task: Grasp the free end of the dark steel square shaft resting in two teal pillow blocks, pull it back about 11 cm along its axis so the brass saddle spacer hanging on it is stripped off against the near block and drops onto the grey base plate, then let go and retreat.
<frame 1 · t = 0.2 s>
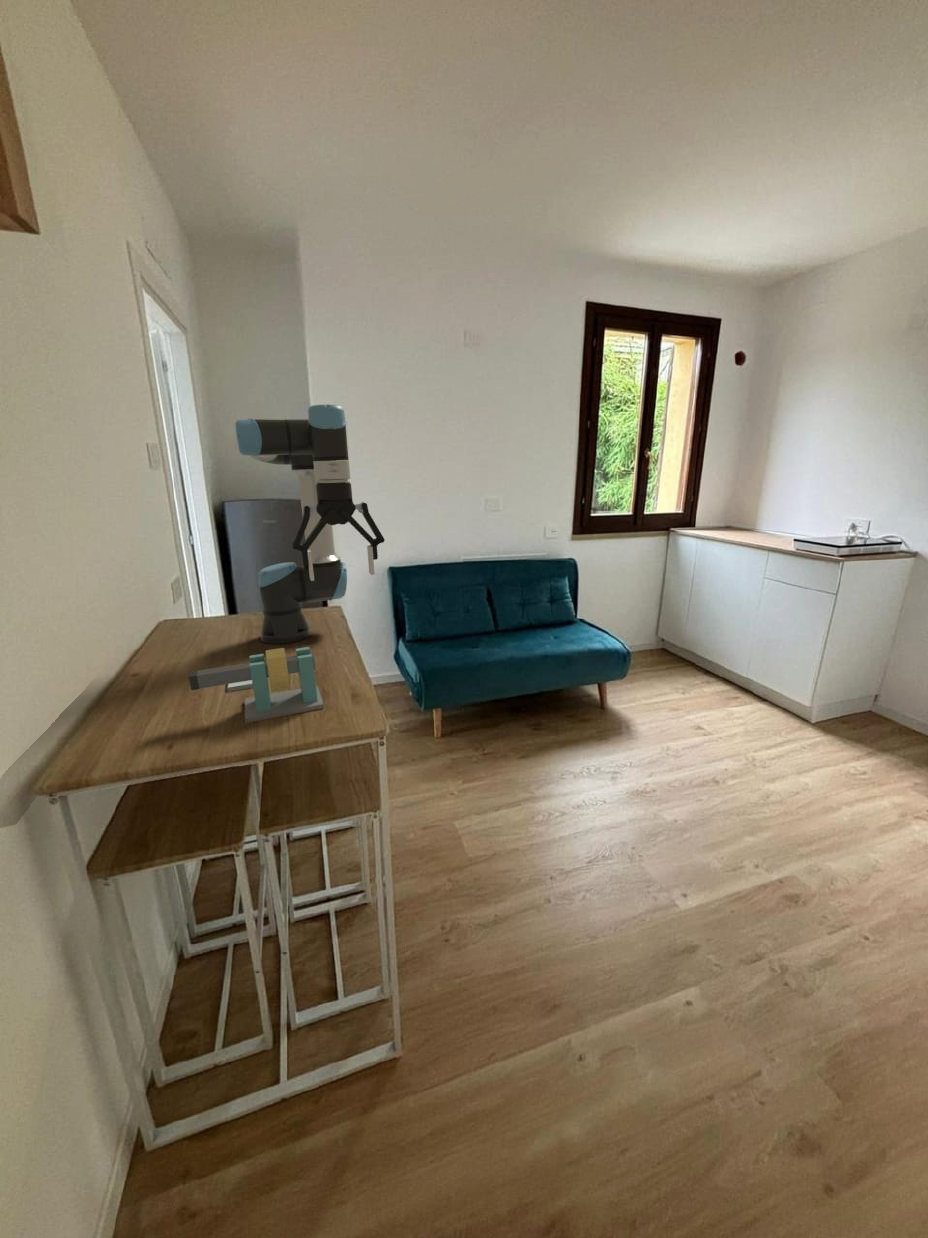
hand: (342, 576, 118), 28 cm above the table, fingers open, 13 cm apart
spacer: (280, 685, 116), point 5 cm above the table, touching shaft
shaft: (254, 670, 113), point 10 cm above the table, slide at 0.0 cm, touching spacer
hard drive: (246, 682, 133), on the table
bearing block: (283, 705, 118), on the table
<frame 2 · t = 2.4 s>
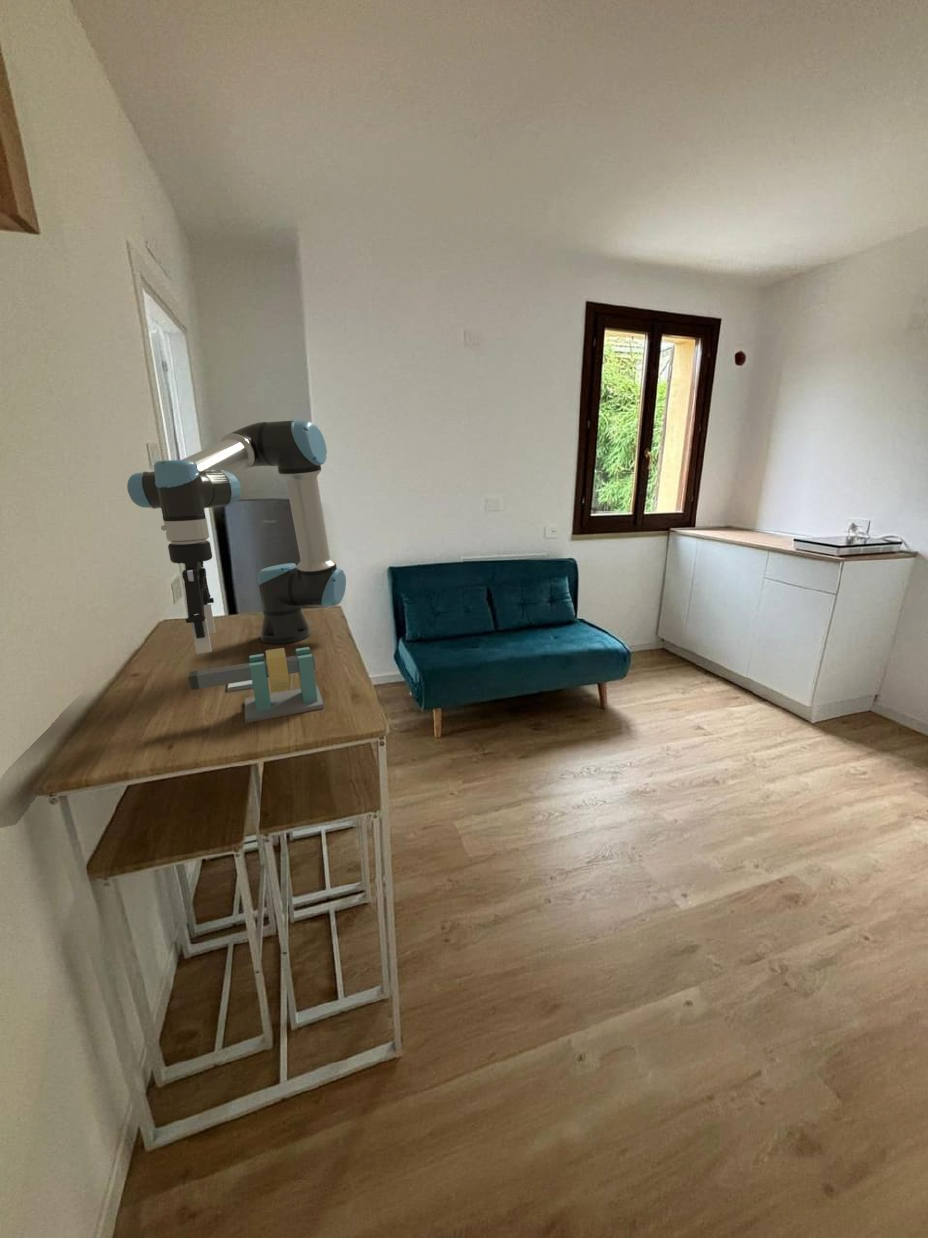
hand: (206, 642, 108), 18 cm above the table, fingers open, 13 cm apart
nothing on the table moved.
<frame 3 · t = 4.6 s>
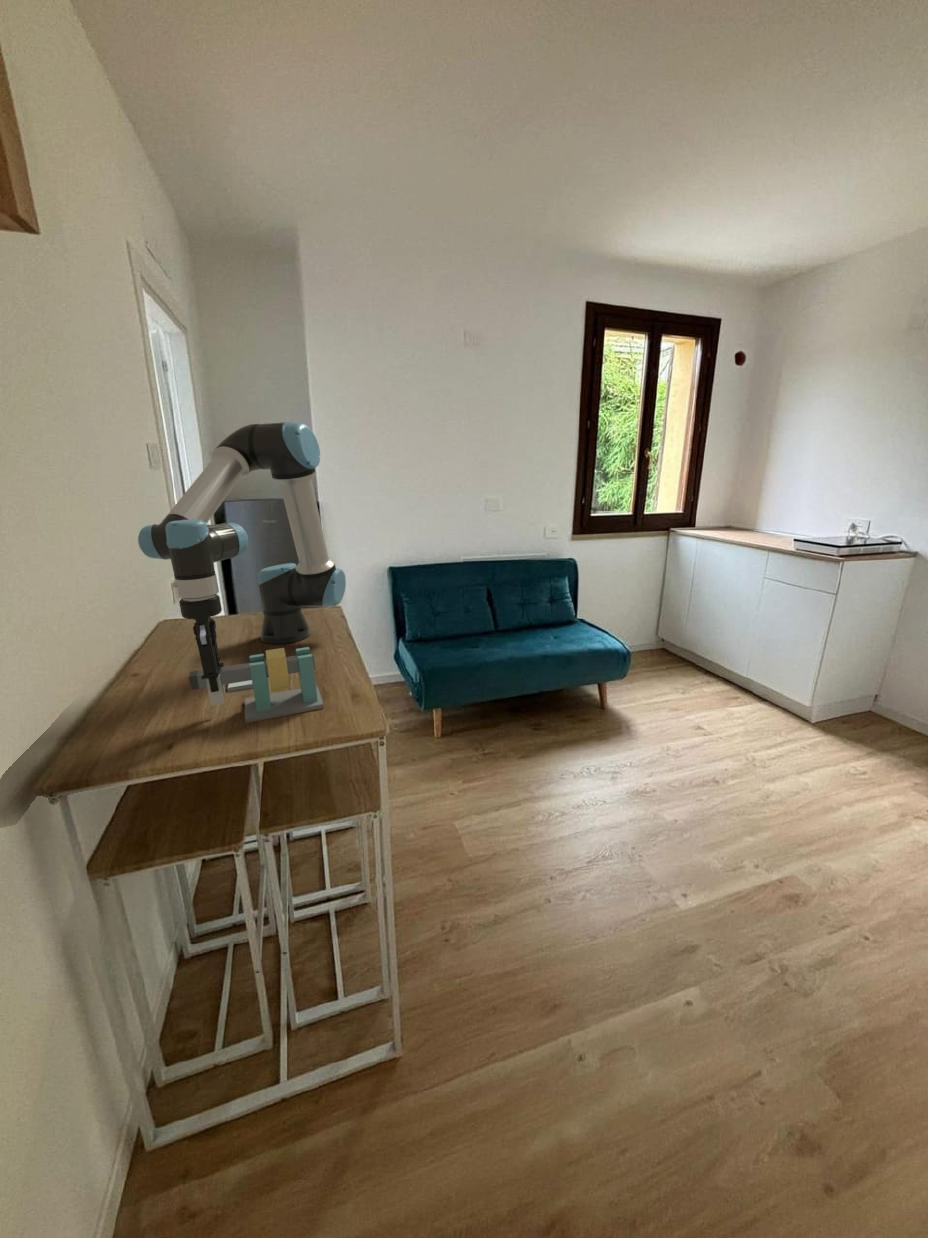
hand: (218, 700, 112), 4 cm above the table, fingers closed on shaft, 3 cm apart
shaft: (254, 670, 113), point 10 cm above the table, slide at 0.0 cm, touching gripper, spacer
everything else where it was.
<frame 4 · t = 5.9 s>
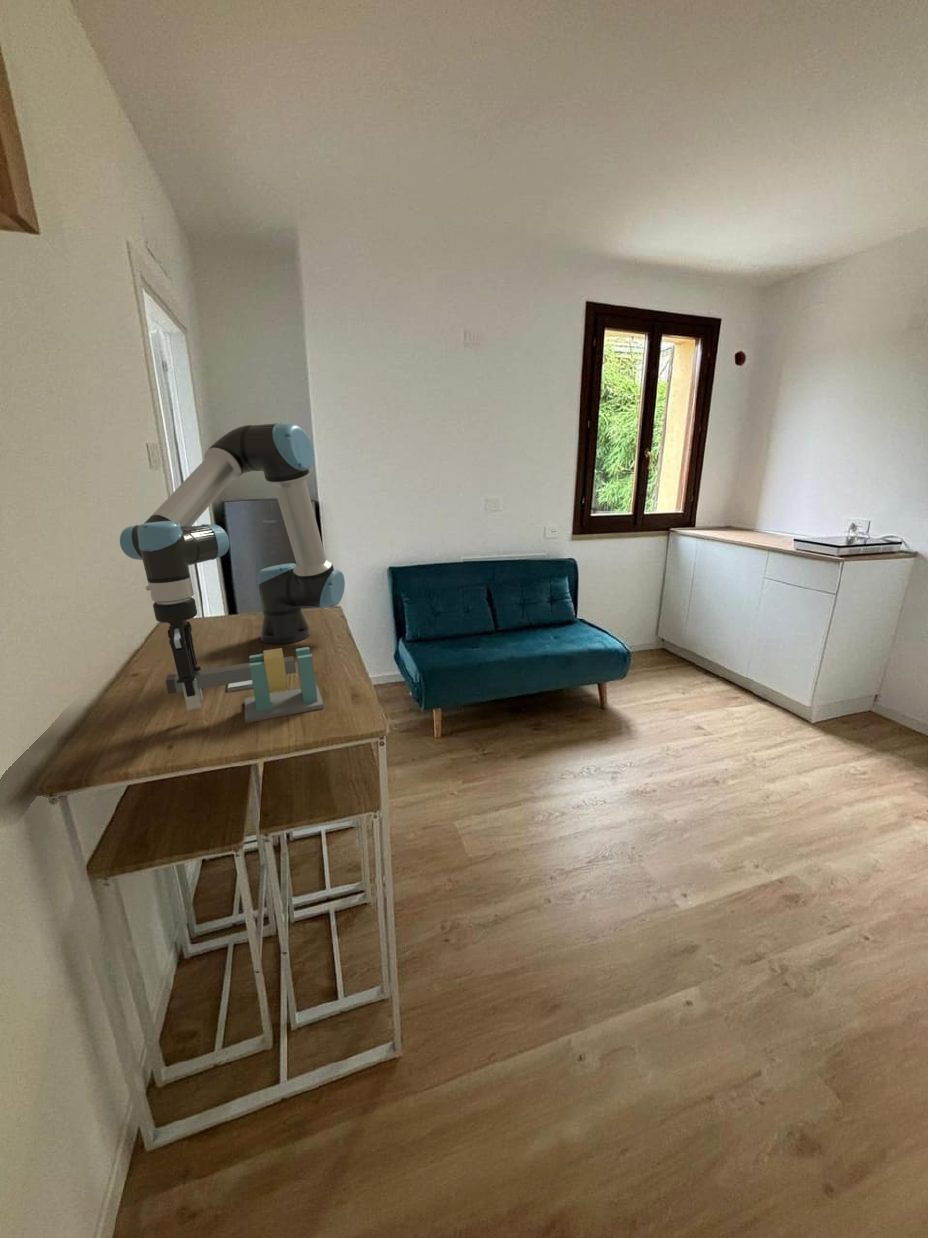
hand: (195, 704, 110), 4 cm above the table, fingers closed on shaft, 3 cm apart
spacer: (278, 685, 116), point 5 cm above the table
shaft: (233, 674, 112), point 10 cm above the table, slide at 4.3 cm, touching gripper
everything else where it was.
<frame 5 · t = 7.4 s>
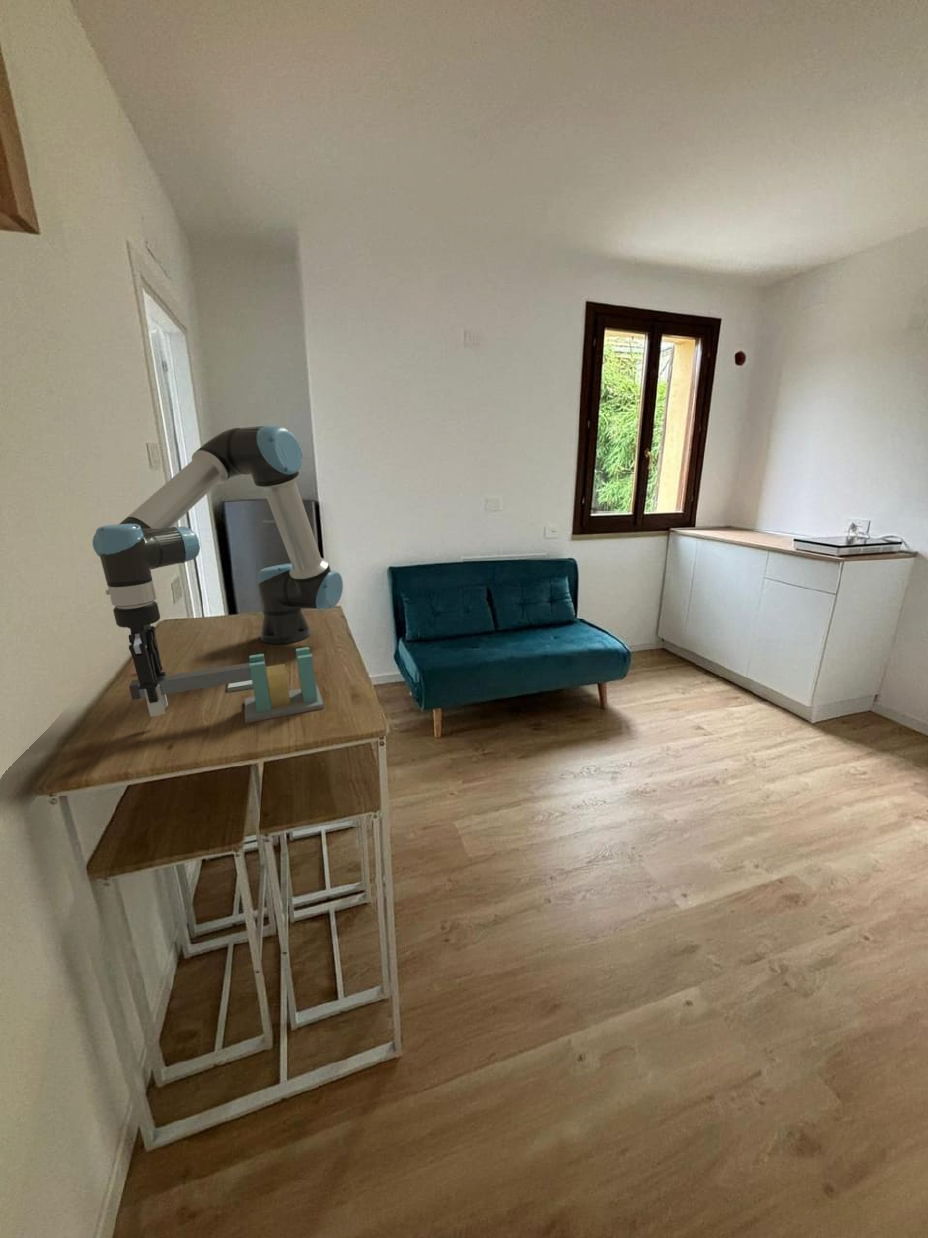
hand: (159, 710, 108), 4 cm above the table, fingers closed on shaft, 3 cm apart
spacer: (280, 701, 118), point 1 cm above the table, touching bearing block
shaft: (200, 679, 110), point 10 cm above the table, slide at 10.8 cm, touching gripper
everything else where it was.
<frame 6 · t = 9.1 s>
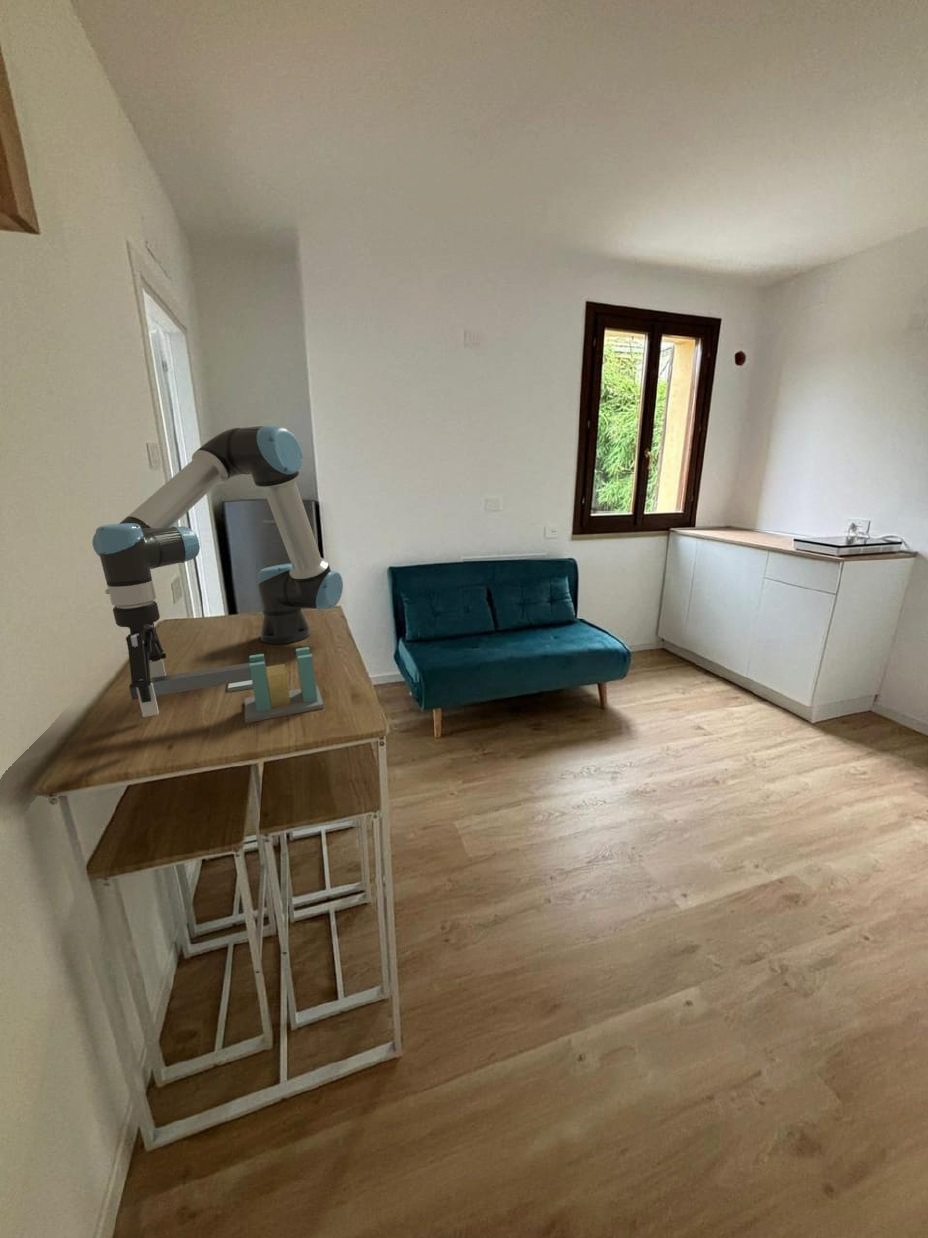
hand: (156, 701, 107), 6 cm above the table, fingers open, 13 cm apart
shaft: (200, 679, 109), point 10 cm above the table, slide at 10.8 cm
everything else where it was.
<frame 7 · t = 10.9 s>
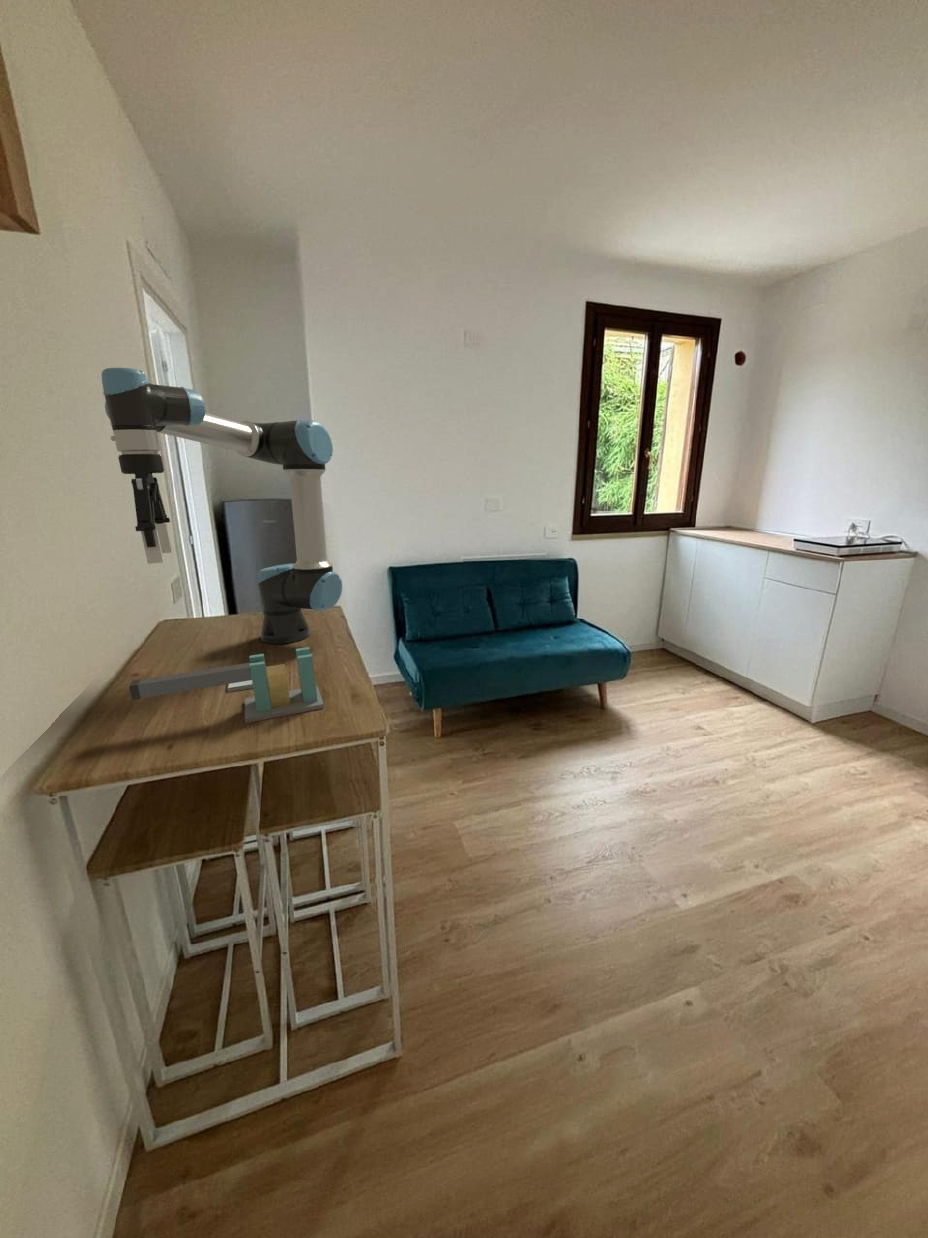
hand: (160, 557, 109), 35 cm above the table, fingers open, 13 cm apart
nothing on the table moved.
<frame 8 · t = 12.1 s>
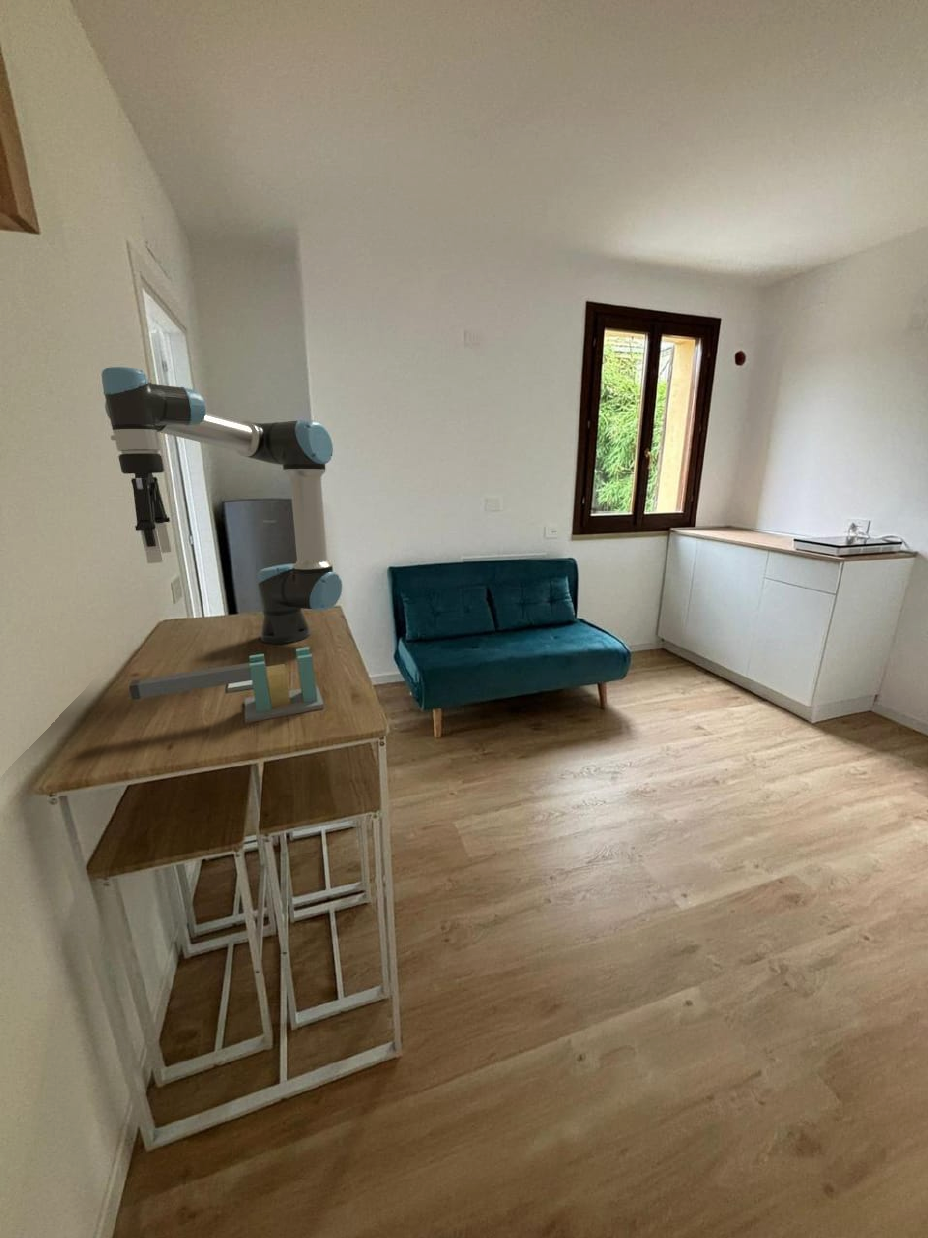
hand: (160, 557, 109), 35 cm above the table, fingers open, 13 cm apart
nothing on the table moved.
at the end: shaft slide at 10.8 cm; spacer point 1.0 cm above the table; spacer inside the target area (0.6 cm from its centre), point 1.0 cm above the table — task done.
